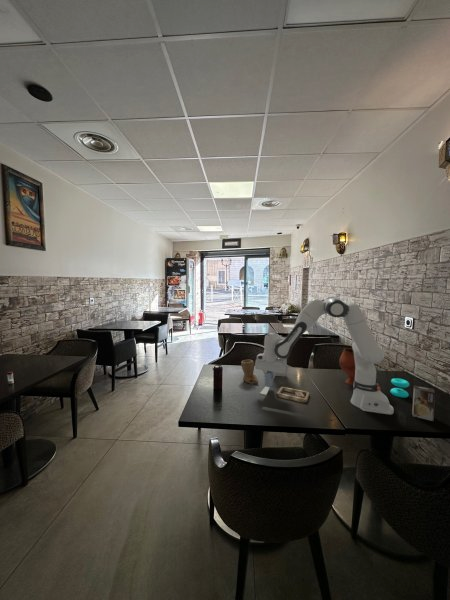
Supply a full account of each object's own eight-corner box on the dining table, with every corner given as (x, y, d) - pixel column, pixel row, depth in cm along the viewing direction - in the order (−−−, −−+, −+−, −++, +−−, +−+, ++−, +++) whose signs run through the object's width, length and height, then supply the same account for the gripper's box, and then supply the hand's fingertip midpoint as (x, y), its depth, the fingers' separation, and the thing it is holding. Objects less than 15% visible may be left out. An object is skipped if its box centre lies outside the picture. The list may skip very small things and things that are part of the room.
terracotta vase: (371, 390, 176) (373, 355, 174) (342, 387, 179) (344, 353, 177) (361, 379, 194) (363, 347, 193) (335, 377, 198) (337, 346, 196)
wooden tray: (309, 397, 162) (309, 392, 162) (306, 405, 151) (306, 399, 151) (281, 391, 170) (281, 386, 170) (276, 398, 159) (276, 393, 159)
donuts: (410, 380, 168) (407, 384, 161) (409, 395, 169) (406, 400, 162) (393, 376, 175) (389, 380, 168) (392, 390, 176) (388, 394, 169)
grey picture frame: (432, 416, 142) (434, 388, 141) (433, 421, 136) (435, 393, 135) (411, 411, 147) (413, 384, 146) (412, 416, 142) (414, 388, 140)
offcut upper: (301, 395, 162) (301, 392, 162) (304, 399, 156) (304, 396, 156) (294, 395, 162) (294, 392, 162) (297, 399, 156) (297, 396, 156)
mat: (278, 390, 172) (278, 389, 172) (273, 397, 161) (273, 396, 161) (265, 387, 176) (265, 386, 176) (259, 393, 165) (259, 393, 165)
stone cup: (240, 376, 195) (240, 357, 194) (255, 376, 196) (256, 357, 195) (241, 384, 180) (242, 363, 179) (258, 384, 181) (259, 364, 179)
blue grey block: (273, 383, 171) (273, 370, 170) (270, 387, 165) (270, 373, 164) (268, 382, 172) (268, 369, 172) (265, 386, 166) (265, 372, 165)
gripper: (287, 358, 165) (286, 378, 166) (257, 353, 174) (256, 373, 175) (284, 360, 160) (283, 382, 161) (254, 355, 169) (253, 376, 170)
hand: (269, 377), depth 168 cm, fingers closed on blue grey block, 3 cm apart
